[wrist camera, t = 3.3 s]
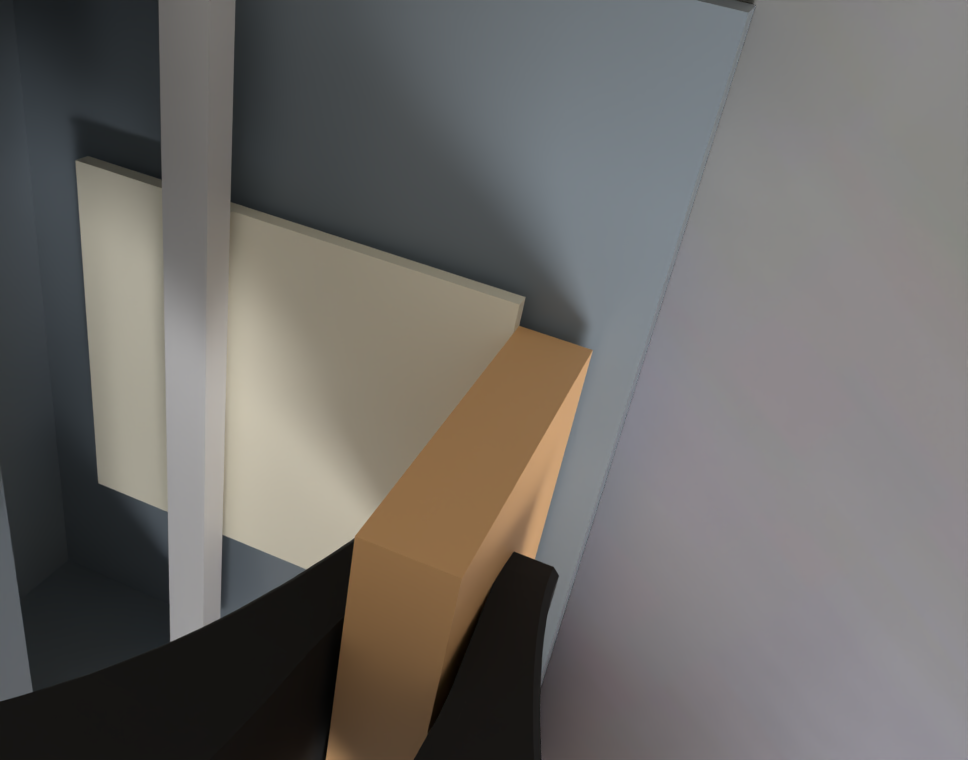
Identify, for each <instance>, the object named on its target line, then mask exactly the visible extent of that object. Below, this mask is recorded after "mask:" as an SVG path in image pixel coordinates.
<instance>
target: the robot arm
mask: <svg viewBox="0 0 968 760" xmlns="http://www.w3.org/2000/svg"><path fill="white" fill-rule="evenodd" d="M354 540H355V538H354V539H352V540H351V541H349V542H348V543H346V544H345V545H343V546H342V547H340V548H339V549H337V550H336V551H334V552H333V553H331V554H330V555H328V556H327V557H325V558H324V559H322V560H320V561H319V562H317V563H316V564H314V565H313V566H311V567H309V568H308V569H306V570H305V571H303V572H301V573H300V574H298V575H297V576H295V577H293V578H292V579H290V580H289V581H287V582H285V583H284V584H282V585H280V586H278V587H277V588H275V589H273V590H271V591H270V592H268V593H266V594H264V595H262V596H261V597H259V598H257V599H255V600H253V601H252V602H250V603H248V604H246V605H244V606H243V607H241V608H239V609H237V610H235V611H234V612H232V613H230V614H228V615H226V616H224V617H222V618H220V619H218V620H216V621H214V622H212V623H210V624H208V625H206V626H204V627H202V628H200V629H197V630H195V631H193V632H191V633H189V634H187V635H184V636H182V637H180V638H178V639H176V640H173V641H171V642H169V643H167V644H164V645H162V646H159V647H157V648H155V649H152V650H150V651H147V652H145V653H142V654H140V655H137V656H135V657H132V658H130V659H127V660H125V661H123V662H120V663H117V664H115V665H112V666H109V667H107V668H104V669H101V670H98V671H96V672H93V673H90V674H87V675H84V676H81V677H78V678H75V679H71V680H68V681H65V682H62V683H59V684H56V685H53V686H49V687H46V688H43V689H40V690H37V691H34V692H31V693H27V694H24V695H21V696H17V697H14V698H10V699H7V700H3V701H0V760H326V755H327V748H328V740H329V732H330V725H331V717H332V709H333V702H334V694H335V686H336V678H337V671H338V663H339V655H340V648H341V640H342V632H343V624H344V617H345V609H346V601H347V594H348V586H349V578H350V571H351V563H352V555H353V547H354ZM558 578H559V575H558V573H557V571H556V570H555V568H554V567H553V566H550V565H548V564H545V563H543V562H540V561H537V560H535V559H532V558H530V557H527V556H524V555H522V554H519V553H517V552H513V553H512V555H511V556H510V558H509V559H508V561H507V562H506V564H505V565H504V567H503V568H502V570H501V571H500V573H499V575H498V576H497V578H496V579H495V581H494V583H493V585H492V587H491V590H490V592H489V595H488V597H487V600H486V602H485V605H484V607H483V610H482V612H481V615H480V617H479V620H478V622H477V625H476V627H475V630H474V632H473V635H472V637H471V640H470V642H469V645H468V647H467V650H466V652H465V655H464V657H463V660H462V662H461V665H460V668H459V670H458V673H457V675H456V678H455V680H454V683H453V685H452V688H451V690H450V692H449V694H448V696H447V699H446V701H445V703H444V705H443V707H442V709H441V711H440V714H439V715H438V717H437V719H436V721H435V723H434V724H433V726H432V728H431V730H430V731H429V733H428V735H427V737H426V738H425V740H424V742H423V744H422V746H421V747H420V749H419V751H418V753H417V754H416V756H415V758H414V760H541V739H540V692H541V671H542V654H543V643H544V635H545V628H546V621H547V615H548V612H549V608H550V605H551V602H552V598H553V595H554V592H555V588H556V585H557V582H558Z"/></svg>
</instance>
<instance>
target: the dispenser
mask: <svg viewBox="0 0 968 760" xmlns="http://www.w3.org/2000/svg"><path fill="white" fill-rule="evenodd" d="M755 6H756V5H753V4H749V3H745V2H741V1H736V0H0V701H3V700H7V699H10V698H14V697H17V696H21V695H24V694H27V693H31V692H34V691H37V690H40V689H43V688H46V687H49V686H53V685H56V684H59V683H62V682H65V681H68V680H71V679H75V678H78V677H81V676H84V675H87V674H90V673H93V672H96V671H98V670H101V669H104V668H107V667H109V666H112V665H115V664H117V663H120V662H123V661H125V660H127V659H130V658H132V657H135V656H137V655H140V654H142V653H145V652H147V651H150V650H152V649H155V648H157V647H159V646H162V645H164V644H167V643H169V642H171V641H173V640H176V639H178V638H180V637H182V636H184V635H187V634H189V633H191V632H193V631H195V630H197V629H200V628H202V627H204V626H206V625H208V624H210V623H212V622H214V621H216V620H218V619H220V618H222V617H224V616H226V615H228V614H230V613H232V612H234V611H235V610H237V609H239V608H241V607H243V606H244V605H246V604H248V603H250V602H252V601H253V600H255V599H257V598H259V597H261V596H262V595H264V594H266V593H268V592H270V591H271V590H273V589H275V588H277V587H278V586H280V585H282V584H284V583H285V582H287V581H289V580H290V579H292V578H293V577H295V576H297V575H298V574H300V573H301V572H303V571H305V570H306V569H304V568H302V567H299V566H297V565H294V564H292V563H290V562H287V561H285V560H282V559H280V558H278V557H275V556H273V555H270V554H268V553H266V552H263V551H261V550H258V549H256V548H253V547H251V546H249V545H246V544H244V543H241V542H239V541H237V540H234V539H232V538H229V537H227V536H225V535H222V527H223V486H224V445H225V404H226V364H227V323H228V282H229V241H230V202H232V203H235V204H239V205H242V206H245V207H248V208H251V209H254V210H257V211H260V212H263V213H266V214H269V215H273V216H276V217H279V218H282V219H285V220H288V221H291V222H294V223H297V224H300V225H304V226H307V227H310V228H313V229H316V230H319V231H322V232H325V233H328V234H331V235H335V236H338V237H341V238H344V239H347V240H350V241H353V242H356V243H359V244H362V245H365V246H369V247H372V248H375V249H378V250H381V251H384V252H387V253H390V254H393V255H396V256H400V257H403V258H406V259H409V260H412V261H415V262H418V263H421V264H424V265H427V266H431V267H434V268H437V269H440V270H443V271H446V272H449V273H452V274H455V275H458V276H462V277H465V278H468V279H471V280H474V281H477V282H480V283H483V284H486V285H489V286H492V287H496V288H499V289H502V290H505V291H508V292H511V293H514V294H517V295H520V296H523V297H526V298H525V302H524V307H523V311H522V316H521V320H520V325H519V326H521V327H525V328H528V329H531V330H534V331H537V332H540V333H543V334H546V335H549V336H552V337H555V338H558V339H561V340H564V341H567V342H570V343H573V344H576V345H579V346H582V347H585V348H588V349H591V350H593V351H592V355H591V359H590V362H589V366H588V369H587V373H586V377H585V380H584V384H583V387H582V391H581V395H580V398H579V402H578V405H577V409H576V413H575V416H574V420H573V423H572V427H571V431H570V434H569V438H568V441H567V445H566V449H565V452H564V456H563V459H562V463H561V467H560V470H559V474H558V478H557V481H556V485H555V488H554V492H553V496H552V499H551V503H550V506H549V510H548V514H547V517H546V521H545V524H544V528H543V532H542V535H541V539H540V542H539V546H538V550H537V553H536V557H535V560H537V561H540V562H543V563H545V564H548V565H550V566H553V567H554V568H555V570H556V571H557V573H558V575H559V578H558V582H557V585H556V588H555V592H554V595H553V598H552V602H551V605H550V608H549V612H548V615H547V621H546V628H545V635H544V643H543V654H542V671H541V685H542V682H543V679H544V676H545V673H546V669H547V666H548V663H549V660H550V657H551V654H552V650H553V647H554V644H555V641H556V638H557V635H558V631H559V628H560V625H561V622H562V619H563V616H564V612H565V609H566V606H567V603H568V600H569V596H570V593H571V590H572V587H573V584H574V581H575V577H576V574H577V571H578V568H579V565H580V562H581V558H582V555H583V552H584V549H585V546H586V543H587V539H588V536H589V533H590V530H591V527H592V523H593V520H594V517H595V514H596V511H597V508H598V504H599V501H600V498H601V495H602V492H603V489H604V485H605V482H606V479H607V476H608V473H609V470H610V466H611V463H612V460H613V457H614V454H615V450H616V447H617V444H618V441H619V438H620V435H621V431H622V428H623V425H624V422H625V419H626V416H627V412H628V409H629V406H630V403H631V400H632V397H633V393H634V390H635V387H636V384H637V381H638V378H639V374H640V371H641V368H642V365H643V362H644V358H645V355H646V352H647V349H648V346H649V343H650V339H651V336H652V333H653V330H654V327H655V324H656V320H657V317H658V314H659V311H660V308H661V305H662V301H663V298H664V295H665V292H666V289H667V285H668V282H669V279H670V276H671V273H672V270H673V266H674V263H675V260H676V257H677V254H678V251H679V247H680V244H681V241H682V238H683V235H684V232H685V228H686V225H687V222H688V219H689V216H690V212H691V209H692V206H693V203H694V200H695V197H696V193H697V190H698V187H699V184H700V181H701V178H702V174H703V171H704V168H705V165H706V162H707V159H708V155H709V152H710V149H711V146H712V143H713V139H714V136H715V133H716V130H717V127H718V124H719V120H720V117H721V114H722V111H723V108H724V105H725V101H726V98H727V95H728V92H729V89H730V86H731V82H732V79H733V76H734V73H735V70H736V66H737V63H738V60H739V57H740V54H741V51H742V47H743V44H744V41H745V38H746V35H747V32H748V28H749V25H750V22H751V19H752V16H753V13H754V9H755ZM86 156H90V157H93V158H96V159H99V160H102V161H105V162H108V163H112V164H115V165H118V166H121V167H124V168H127V169H130V170H133V171H136V172H139V173H142V174H146V175H149V176H152V177H155V178H158V179H161V180H162V217H163V271H164V326H165V381H166V435H167V490H168V512H167V511H164V510H162V509H159V508H157V507H155V506H152V505H150V504H147V503H145V502H143V501H140V500H138V499H135V498H133V497H130V496H128V495H126V494H123V493H121V492H118V491H116V490H114V489H111V488H109V487H106V486H104V485H102V484H99V483H98V472H97V458H96V444H95V430H94V416H93V402H92V388H91V374H90V360H89V345H88V331H87V317H86V303H85V289H84V275H83V261H82V247H81V233H80V219H79V204H78V190H77V176H76V162H75V160H77V159H80V158H83V157H86Z"/></svg>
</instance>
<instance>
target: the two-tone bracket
mask: <svg viewBox="0 0 968 760" xmlns="http://www.w3.org/2000/svg"><path fill="white" fill-rule="evenodd" d="M75 162H76V176H77V190H78V204H79V219H80V233H81V247H82V261H83V275H84V289H85V303H86V317H87V331H88V345H89V360H90V374H91V388H92V402H93V416H94V430H95V444H96V458H97V472H98V483H99V484H102V485H104V486H106V487H109V488H111V489H114V490H116V491H118V492H121V493H123V494H126V495H128V496H130V497H133V498H135V499H138V500H140V501H143V502H145V503H147V504H150V505H152V506H155V507H157V508H159V509H162V510H164V511H167V512H168V490H167V435H166V381H165V326H164V271H163V217H162V180H161V179H158V178H155V177H152V176H149V175H146V174H142V173H139V172H136V171H133V170H130V169H127V168H124V167H121V166H118V165H115V164H112V163H108V162H105V161H102V160H99V159H96V158H93V157H90V156H86V157H83V158H80V159H77V160H75ZM525 298H526V297H523V296H520V295H517V294H514V293H511V292H508V291H505V290H502V289H499V288H496V287H492V286H489V285H486V284H483V283H480V282H477V281H474V280H471V279H468V278H465V277H462V276H458V275H455V274H452V273H449V272H446V271H443V270H440V269H437V268H434V267H431V266H427V265H424V264H421V263H418V262H415V261H412V260H409V259H406V258H403V257H400V256H396V255H393V254H390V253H387V252H384V251H381V250H378V249H375V248H372V247H369V246H365V245H362V244H359V243H356V242H353V241H350V240H347V239H344V238H341V237H338V236H335V235H331V234H328V233H325V232H322V231H319V230H316V229H313V228H310V227H307V226H304V225H300V224H297V223H294V222H291V221H288V220H285V219H282V218H279V217H276V216H273V215H269V214H266V213H263V212H260V211H257V210H254V209H251V208H248V207H245V206H242V205H239V204H235V203H232V202H230V241H229V282H228V323H227V364H226V404H225V445H224V486H223V527H222V535H225V536H227V537H229V538H232V539H234V540H237V541H239V542H241V543H244V544H246V545H249V546H251V547H253V548H256V549H258V550H261V551H263V552H266V553H268V554H270V555H273V556H275V557H278V558H280V559H282V560H285V561H287V562H290V563H292V564H294V565H297V566H299V567H302V568H304V569H308V568H309V567H311V566H313V565H314V564H316V563H317V562H319V561H320V560H322V559H324V558H325V557H327V556H328V555H330V554H331V553H333V552H334V551H336V550H337V549H339V548H340V547H342V546H343V545H345V544H346V543H348V542H349V541H351V540H352V539H354V538H355V540H354V547H353V555H352V563H351V571H350V578H349V586H348V594H347V601H346V609H345V617H344V624H343V632H342V640H341V648H340V655H339V663H338V671H337V678H336V686H335V694H334V702H333V709H332V717H331V725H330V732H329V740H328V748H327V755H326V760H414V758H415V756H416V754H417V753H418V751H419V749H420V747H421V746H422V744H423V742H424V740H425V738H426V737H427V735H428V733H429V731H430V730H431V728H432V726H433V724H434V723H435V721H436V719H437V717H438V715H439V714H440V711H441V709H442V707H443V705H444V703H445V701H446V699H447V696H448V694H449V692H450V690H451V688H452V685H453V683H454V680H455V678H456V675H457V673H458V670H459V668H460V665H461V662H462V660H463V657H464V655H465V652H466V650H467V647H468V645H469V642H470V640H471V637H472V635H473V632H474V630H475V627H476V625H477V622H478V620H479V617H480V615H481V612H482V610H483V607H484V605H485V602H486V600H487V597H488V595H489V592H490V590H491V587H492V585H493V583H494V581H495V579H496V578H497V576H498V575H499V573H500V571H501V570H502V568H503V567H504V565H505V564H506V562H507V561H508V559H509V558H510V556H511V555H512V553H513V552H517V553H519V554H522V555H524V556H527V557H530V558H532V559H535V557H536V553H537V550H538V546H539V542H540V539H541V535H542V532H543V528H544V524H545V521H546V517H547V514H548V510H549V506H550V503H551V499H552V496H553V492H554V488H555V485H556V481H557V478H558V474H559V470H560V467H561V463H562V459H563V456H564V452H565V449H566V445H567V441H568V438H569V434H570V431H571V427H572V423H573V420H574V416H575V413H576V409H577V405H578V402H579V398H580V395H581V391H582V387H583V384H584V380H585V377H586V373H587V369H588V366H589V362H590V359H591V355H592V351H593V350H591V349H588V348H585V347H582V346H579V345H576V344H573V343H570V342H567V341H564V340H561V339H558V338H555V337H552V336H549V335H546V334H543V333H540V332H537V331H534V330H531V329H528V328H525V327H521V326H519V325H520V320H521V316H522V311H523V307H524V302H525Z"/></svg>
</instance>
